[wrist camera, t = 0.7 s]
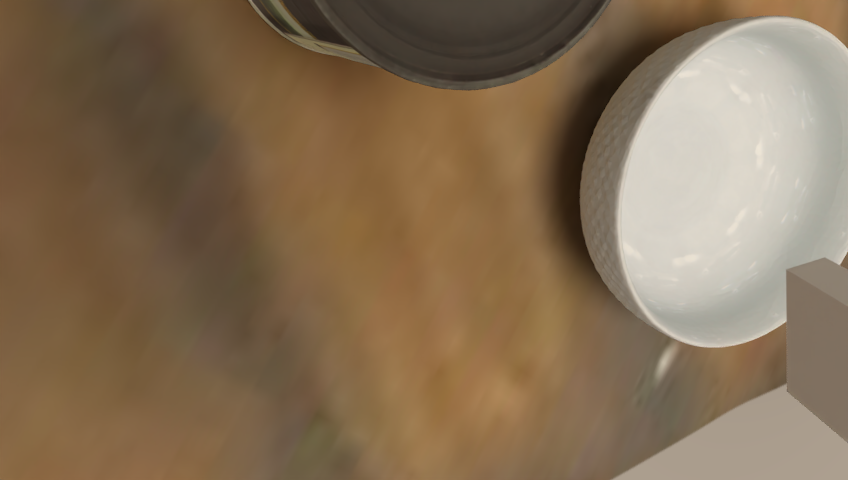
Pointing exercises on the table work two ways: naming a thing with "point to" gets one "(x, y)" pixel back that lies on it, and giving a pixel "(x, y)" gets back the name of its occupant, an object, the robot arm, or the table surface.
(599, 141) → the cereal bowl
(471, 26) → the coffee can
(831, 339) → the robot arm
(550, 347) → the table surface
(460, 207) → the table surface
